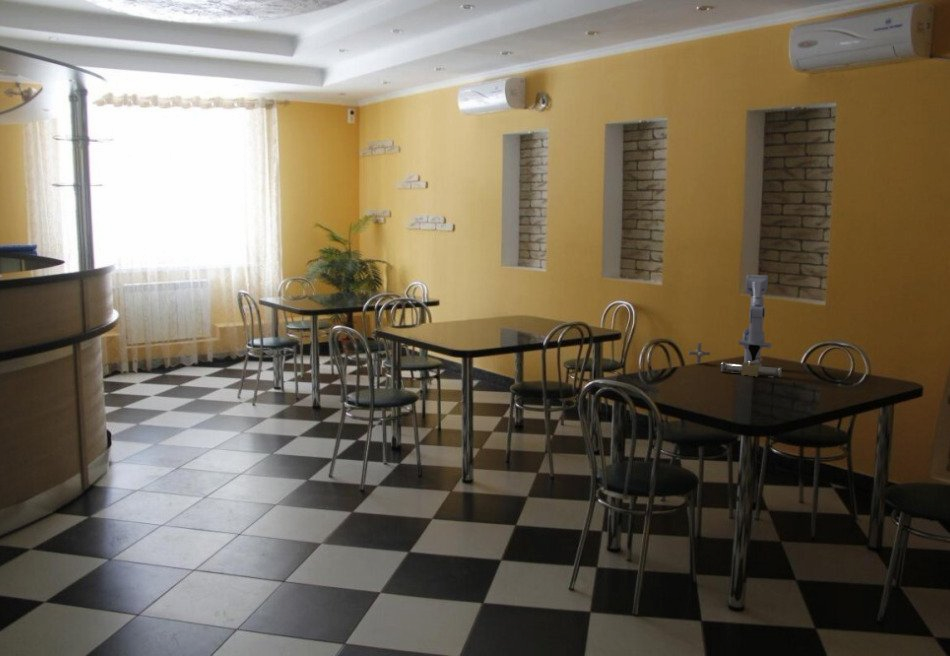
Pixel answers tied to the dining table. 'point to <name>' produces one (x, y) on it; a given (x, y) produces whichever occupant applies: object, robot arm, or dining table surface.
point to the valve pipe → (751, 369)
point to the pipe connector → (699, 353)
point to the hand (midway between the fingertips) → (753, 361)
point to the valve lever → (755, 360)
